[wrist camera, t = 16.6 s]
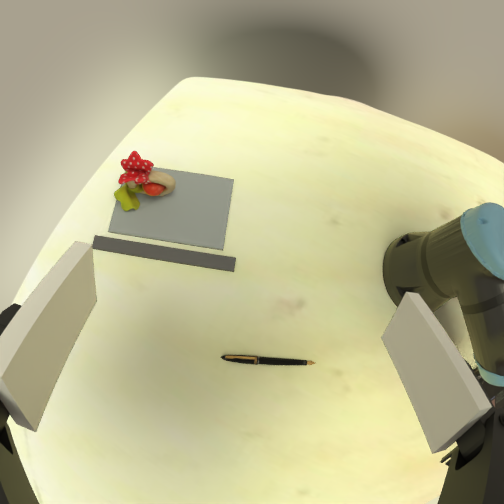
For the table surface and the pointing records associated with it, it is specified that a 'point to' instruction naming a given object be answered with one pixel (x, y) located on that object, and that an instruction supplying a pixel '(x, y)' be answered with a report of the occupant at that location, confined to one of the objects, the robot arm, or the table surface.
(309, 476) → the table surface
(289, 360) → the fountain pen
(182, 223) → the mat
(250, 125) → the table surface
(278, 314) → the table surface
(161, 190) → the bird rattle
